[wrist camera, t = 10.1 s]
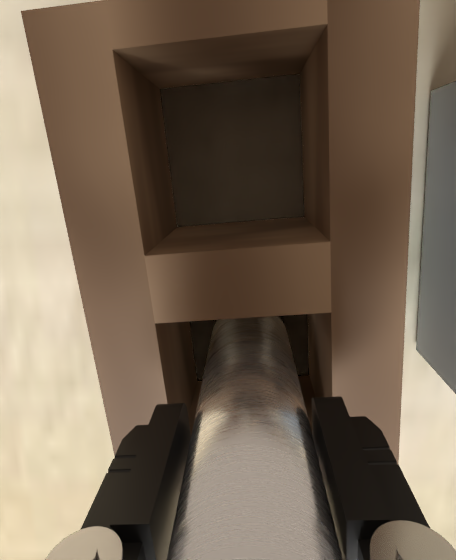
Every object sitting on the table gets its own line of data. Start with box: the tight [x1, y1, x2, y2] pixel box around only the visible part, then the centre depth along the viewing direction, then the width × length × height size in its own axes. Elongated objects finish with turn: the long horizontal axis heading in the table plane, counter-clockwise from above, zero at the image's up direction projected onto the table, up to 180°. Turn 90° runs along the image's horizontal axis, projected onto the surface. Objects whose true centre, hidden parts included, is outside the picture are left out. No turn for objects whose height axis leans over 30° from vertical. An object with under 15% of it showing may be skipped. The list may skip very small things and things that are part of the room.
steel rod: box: [167, 316, 343, 560], centre depth 10 cm, size 3×3×10 cm
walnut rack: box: [21, 0, 420, 465], centre depth 13 cm, size 9×14×5 cm, turn 5°
